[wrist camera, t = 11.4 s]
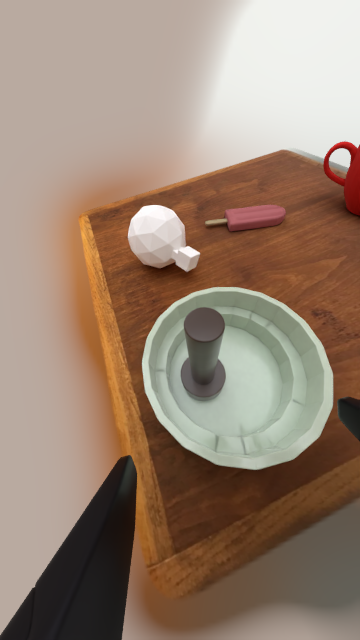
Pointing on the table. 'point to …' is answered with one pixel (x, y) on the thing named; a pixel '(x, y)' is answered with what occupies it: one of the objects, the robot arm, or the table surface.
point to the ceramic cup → (348, 176)
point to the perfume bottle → (160, 239)
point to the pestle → (203, 354)
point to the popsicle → (251, 217)
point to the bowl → (242, 381)
